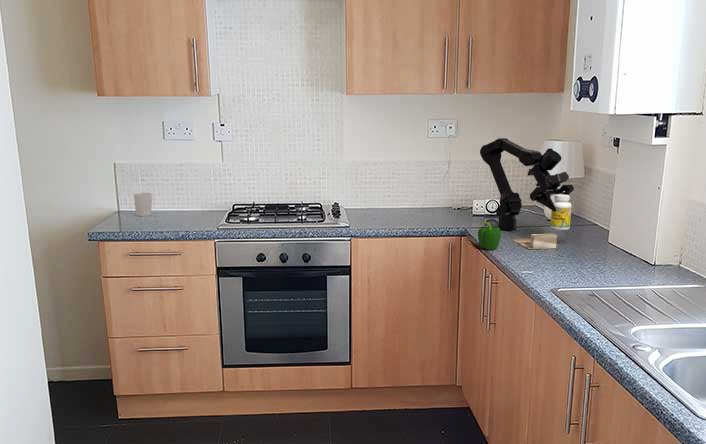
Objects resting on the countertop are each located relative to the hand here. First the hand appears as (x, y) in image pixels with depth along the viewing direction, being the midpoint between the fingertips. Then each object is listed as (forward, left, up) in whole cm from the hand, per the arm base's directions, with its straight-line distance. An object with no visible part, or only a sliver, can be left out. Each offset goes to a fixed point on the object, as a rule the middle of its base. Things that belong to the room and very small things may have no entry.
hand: (562, 210), depth 233 cm
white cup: (-171, -72, -13) cm, 186 cm away
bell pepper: (-17, -25, -13) cm, 33 cm away
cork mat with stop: (-7, -7, -13) cm, 17 cm away
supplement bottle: (-1, 0, -7) cm, 7 cm away
